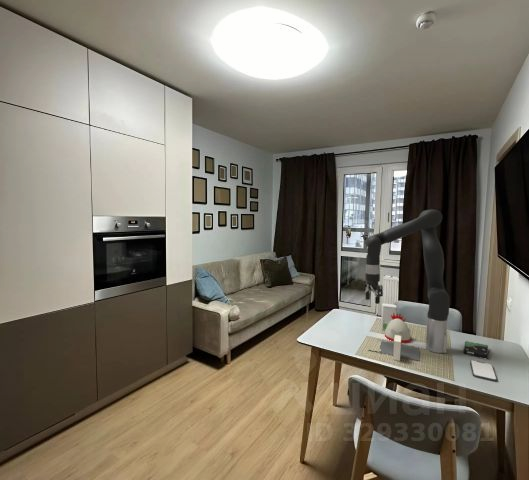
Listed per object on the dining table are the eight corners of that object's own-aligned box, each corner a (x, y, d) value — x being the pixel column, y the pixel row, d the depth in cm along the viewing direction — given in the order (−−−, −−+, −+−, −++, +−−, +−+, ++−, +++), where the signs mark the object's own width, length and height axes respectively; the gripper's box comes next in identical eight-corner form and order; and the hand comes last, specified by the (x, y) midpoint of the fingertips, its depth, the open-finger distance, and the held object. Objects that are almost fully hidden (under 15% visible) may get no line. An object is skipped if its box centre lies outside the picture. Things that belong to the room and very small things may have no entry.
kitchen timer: (386, 331, 181) (387, 308, 180) (411, 336, 174) (412, 312, 173) (383, 339, 169) (384, 314, 168) (409, 345, 162) (410, 318, 161)
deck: (400, 354, 150) (401, 335, 148) (400, 361, 143) (400, 342, 142) (394, 352, 151) (394, 334, 150) (393, 359, 145) (393, 340, 143)
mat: (418, 348, 158) (418, 347, 158) (419, 361, 144) (419, 360, 144) (371, 339, 169) (371, 339, 169) (368, 350, 154) (368, 350, 154)
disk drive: (488, 360, 146) (487, 349, 158) (488, 355, 146) (487, 344, 158) (463, 354, 152) (464, 344, 164) (463, 349, 152) (464, 340, 164)
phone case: (497, 384, 125) (492, 367, 139) (498, 380, 125) (492, 364, 139) (472, 378, 130) (469, 362, 144) (472, 374, 130) (469, 359, 143)
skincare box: (381, 329, 184) (382, 305, 183) (380, 326, 190) (381, 302, 189) (396, 331, 182) (397, 307, 180) (394, 327, 188) (395, 304, 187)
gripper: (387, 274, 154) (386, 304, 155) (370, 270, 168) (370, 297, 169) (375, 275, 152) (374, 305, 153) (359, 270, 166) (358, 298, 167)
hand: (372, 301), depth 161 cm, fingers open, 8 cm apart
